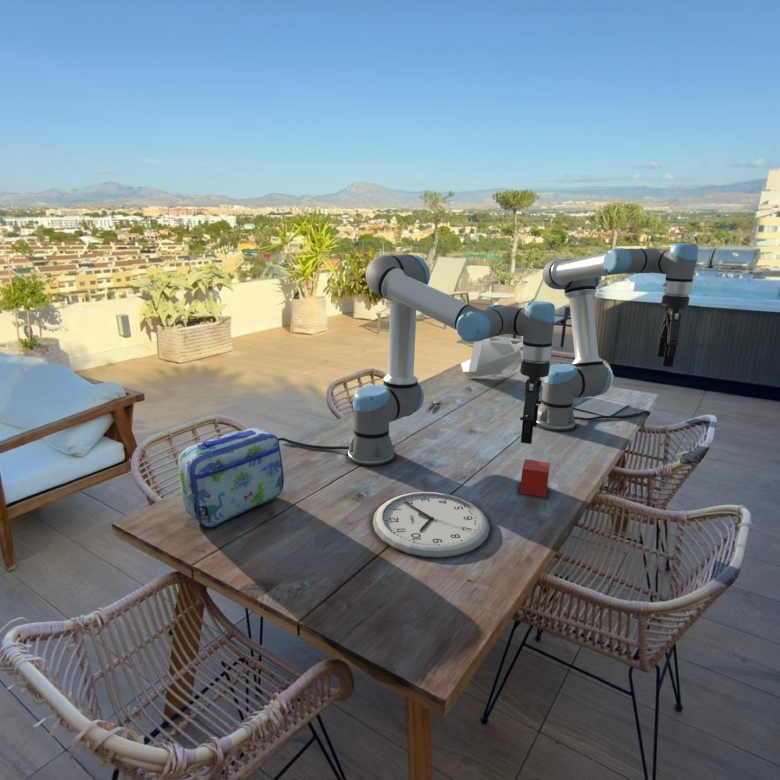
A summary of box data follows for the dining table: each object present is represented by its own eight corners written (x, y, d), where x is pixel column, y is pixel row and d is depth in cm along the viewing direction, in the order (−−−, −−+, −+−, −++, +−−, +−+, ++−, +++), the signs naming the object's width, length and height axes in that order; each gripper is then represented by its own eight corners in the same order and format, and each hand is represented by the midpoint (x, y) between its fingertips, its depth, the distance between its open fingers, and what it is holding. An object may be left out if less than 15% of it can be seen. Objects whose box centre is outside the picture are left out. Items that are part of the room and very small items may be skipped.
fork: (425, 410, 217) (425, 406, 216) (435, 399, 231) (435, 395, 231) (431, 411, 216) (431, 407, 215) (441, 400, 230) (441, 396, 230)
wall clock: (504, 548, 122) (376, 553, 119) (504, 554, 122) (376, 559, 120) (474, 487, 150) (370, 490, 148) (473, 492, 151) (370, 495, 148)
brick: (522, 482, 157) (524, 458, 155) (547, 486, 155) (550, 462, 153) (519, 493, 151) (522, 468, 149) (545, 497, 149) (548, 472, 147)
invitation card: (608, 416, 214) (573, 407, 224) (608, 416, 214) (573, 408, 224) (628, 404, 229) (594, 396, 238) (628, 405, 229) (594, 397, 238)
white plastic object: (482, 419, 265) (461, 396, 241) (463, 346, 287) (443, 319, 263) (553, 395, 253) (539, 368, 228) (528, 321, 275) (513, 290, 250)
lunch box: (198, 536, 127) (190, 457, 121) (179, 518, 135) (170, 443, 128) (288, 499, 145) (285, 429, 139) (267, 486, 152) (263, 418, 146)
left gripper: (526, 349, 152) (520, 418, 158) (515, 369, 130) (508, 448, 136) (553, 351, 150) (546, 421, 156) (546, 372, 127) (538, 452, 134)
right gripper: (657, 290, 175) (647, 352, 181) (668, 298, 152) (656, 369, 158) (683, 291, 172) (671, 354, 179) (697, 300, 150) (684, 371, 156)
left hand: (528, 434), depth 146 cm, fingers open, 13 cm apart
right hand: (664, 361), depth 169 cm, fingers open, 13 cm apart
